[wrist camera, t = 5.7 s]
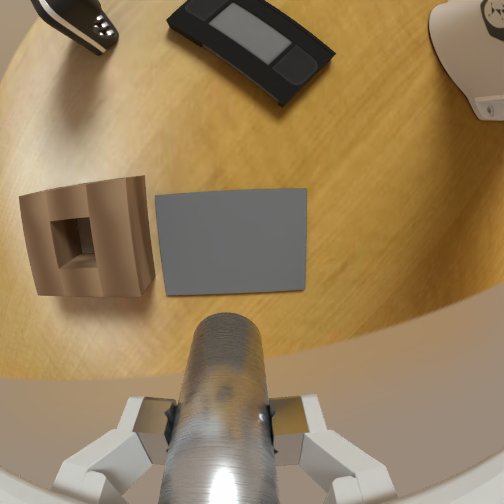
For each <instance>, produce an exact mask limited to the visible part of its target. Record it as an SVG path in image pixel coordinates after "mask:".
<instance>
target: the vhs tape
mask: <svg viewBox="0 0 504 504" xmlns="http://www.w3.org/2000/svg"><path fill="white" fill-rule="evenodd" d="M167 23H168V24H169V26H170V28H172V29H173V30H175V31H177V32H178V33H180V34H182V35H183V36H185V37H186V38H188V39H190V40H191V41H193V42H194V43H196V44H197V45H199V46H200V47H202V46H203V47H205V48H206V49H208V50H209V51H210V52H212V53H213V54H215V55H216V56H218V57H219V58H221V59H222V60H223V61H225V62H226V63H228V64H229V65H230V66H232V67H233V68H235V69H236V70H237V71H239V72H240V73H241V74H243V75H244V76H245V77H247V78H248V79H249V80H251V81H252V82H253V83H254V84H256V85H257V86H258V87H260V88H261V89H262V90H263V91H265V92H266V93H267V94H268V95H270V96H271V97H272V98H273V99H275V100H276V101H277V102H278V105H279V106H281V107H283V106H284V105H285V104H286V103H287V102H288V101H289V100H290V99H291V98H292V97H293V96H294V95H295V94H296V93H297V92H298V91H299V90H300V89H301V88H302V87H303V86H304V85H305V84H306V83H307V82H308V81H309V80H310V79H311V78H312V77H313V76H314V75H315V74H316V73H317V72H318V71H319V70H320V69H321V68H322V67H323V66H324V65H325V64H326V63H327V62H328V61H329V60H330V59H331V58H332V57H333V56H334V55H335V54H336V53H335V52H334V51H332V50H331V49H330V48H329V47H328V46H326V45H325V44H324V43H323V42H322V41H320V40H319V39H318V38H317V37H315V36H314V35H313V34H312V33H310V32H309V31H308V30H306V29H305V28H304V27H302V26H301V25H300V24H298V23H297V22H296V21H294V20H293V19H291V18H290V17H289V16H287V15H286V14H284V13H283V12H281V11H280V10H279V9H277V8H276V7H274V6H272V5H271V4H269V3H268V2H266V1H265V0H187V1H186V2H185V3H184V4H183V5H182V6H181V7H179V8H178V9H177V10H176V11H175V12H174V13H173V14H172V15H171V16H170V17H169V18H168V19H167Z"/></svg>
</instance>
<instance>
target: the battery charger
mask: <svg viewBox="0 0 504 504" xmlns="http://www.w3.org/2000/svg"><path fill="white" fill-rule="evenodd" d="M31 2H32V4H33V6H34V8H35V10H36V11H37V13H38V15H39V16H40V17H41V18H42V19H43V20H44V21H45V22H46V23H47V24H49V25H50V26H52V27H53V28H55V29H56V30H58V31H60V32H61V33H63V34H64V35H66V36H68V37H69V38H71V39H72V40H74V41H76V42H77V43H79V44H81V45H82V46H84V47H86V48H87V49H89V50H90V51H92V52H93V53H95V54H96V55H101V54H102V53H104V52H106V51H107V49H108V48H109V47H111V46H112V45H113V44H114V43H115V42H116V40H117V39H118V36H119V33H118V31H117V30H116V28H115V27H114V25H113V24H112V22H111V21H110V20H109V18H108V17H107V16H106V14H105V13H104V12H103V11H102V9H101V4H100V3H99V1H98V0H31Z"/></svg>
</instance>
